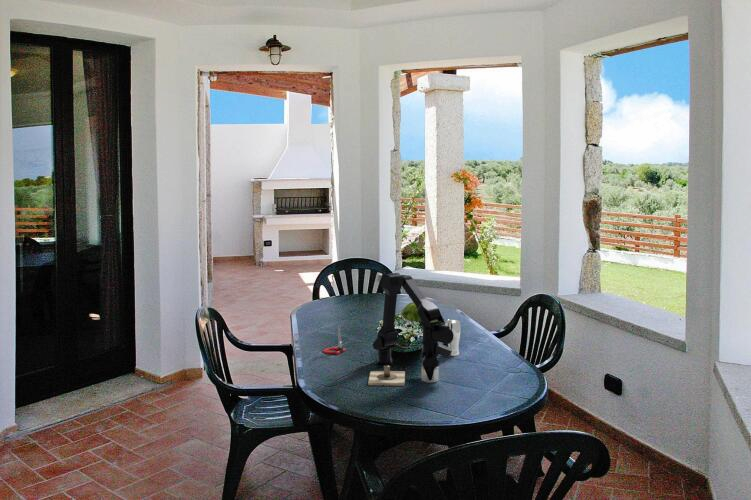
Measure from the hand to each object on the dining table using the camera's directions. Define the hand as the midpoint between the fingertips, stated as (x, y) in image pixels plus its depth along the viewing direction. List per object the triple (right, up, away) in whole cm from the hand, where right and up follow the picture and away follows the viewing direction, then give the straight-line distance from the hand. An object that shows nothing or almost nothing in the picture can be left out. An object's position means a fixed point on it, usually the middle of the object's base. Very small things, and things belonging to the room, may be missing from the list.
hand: (430, 377), depth 240 cm
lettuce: (0, +7, +67) cm, 67 cm away
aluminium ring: (0, -1, 0) cm, 1 cm away
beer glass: (+13, +3, +33) cm, 36 cm away
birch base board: (-17, -1, +1) cm, 17 cm away
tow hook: (-41, +3, +39) cm, 57 cm away
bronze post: (-17, -1, +1) cm, 17 cm away
